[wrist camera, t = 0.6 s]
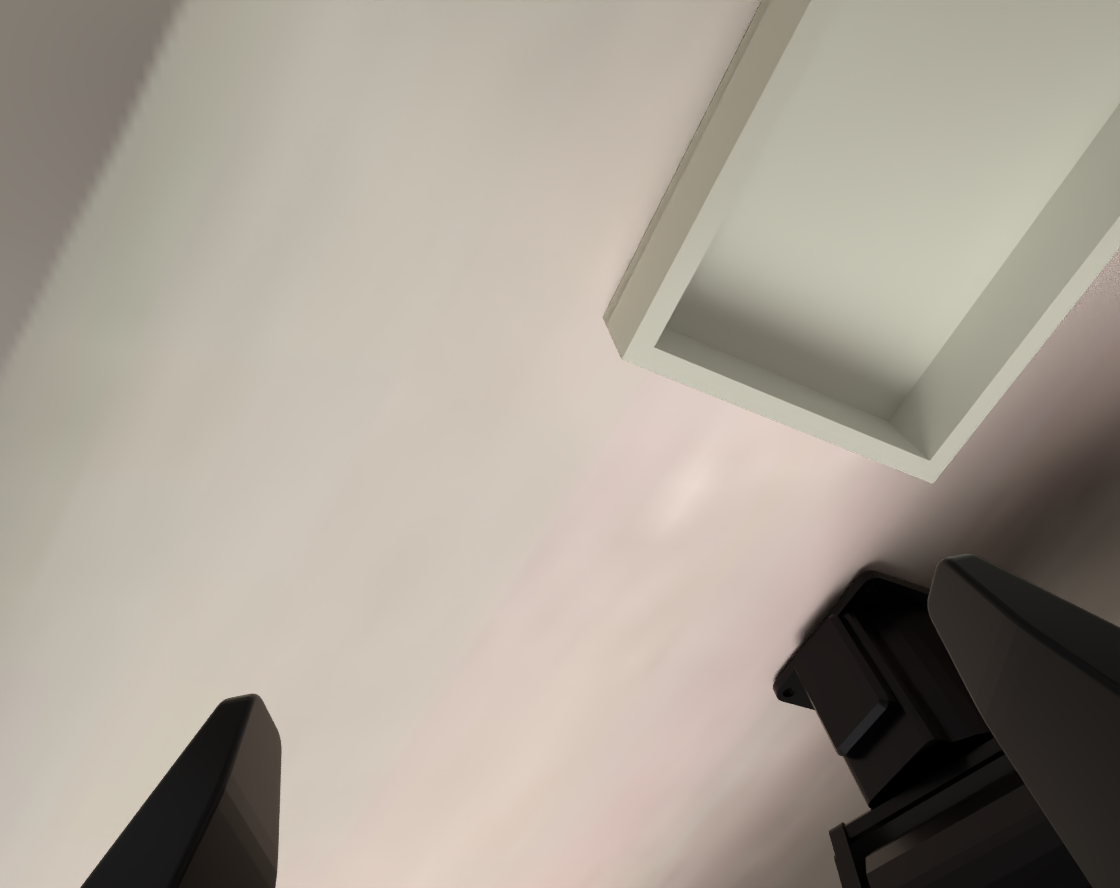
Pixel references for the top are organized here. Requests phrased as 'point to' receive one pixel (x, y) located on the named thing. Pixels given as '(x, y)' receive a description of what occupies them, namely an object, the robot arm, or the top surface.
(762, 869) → the top surface
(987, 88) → the tray
